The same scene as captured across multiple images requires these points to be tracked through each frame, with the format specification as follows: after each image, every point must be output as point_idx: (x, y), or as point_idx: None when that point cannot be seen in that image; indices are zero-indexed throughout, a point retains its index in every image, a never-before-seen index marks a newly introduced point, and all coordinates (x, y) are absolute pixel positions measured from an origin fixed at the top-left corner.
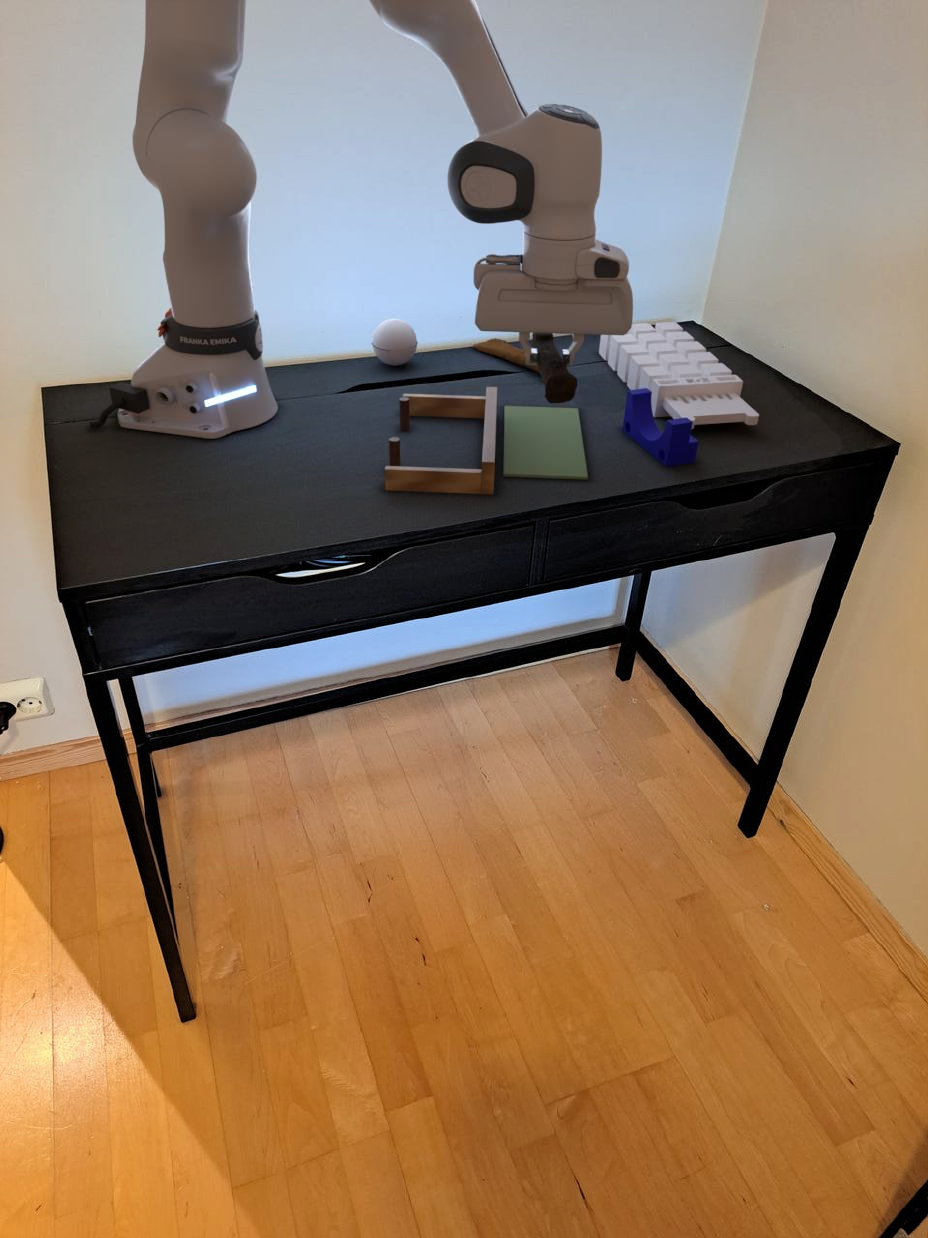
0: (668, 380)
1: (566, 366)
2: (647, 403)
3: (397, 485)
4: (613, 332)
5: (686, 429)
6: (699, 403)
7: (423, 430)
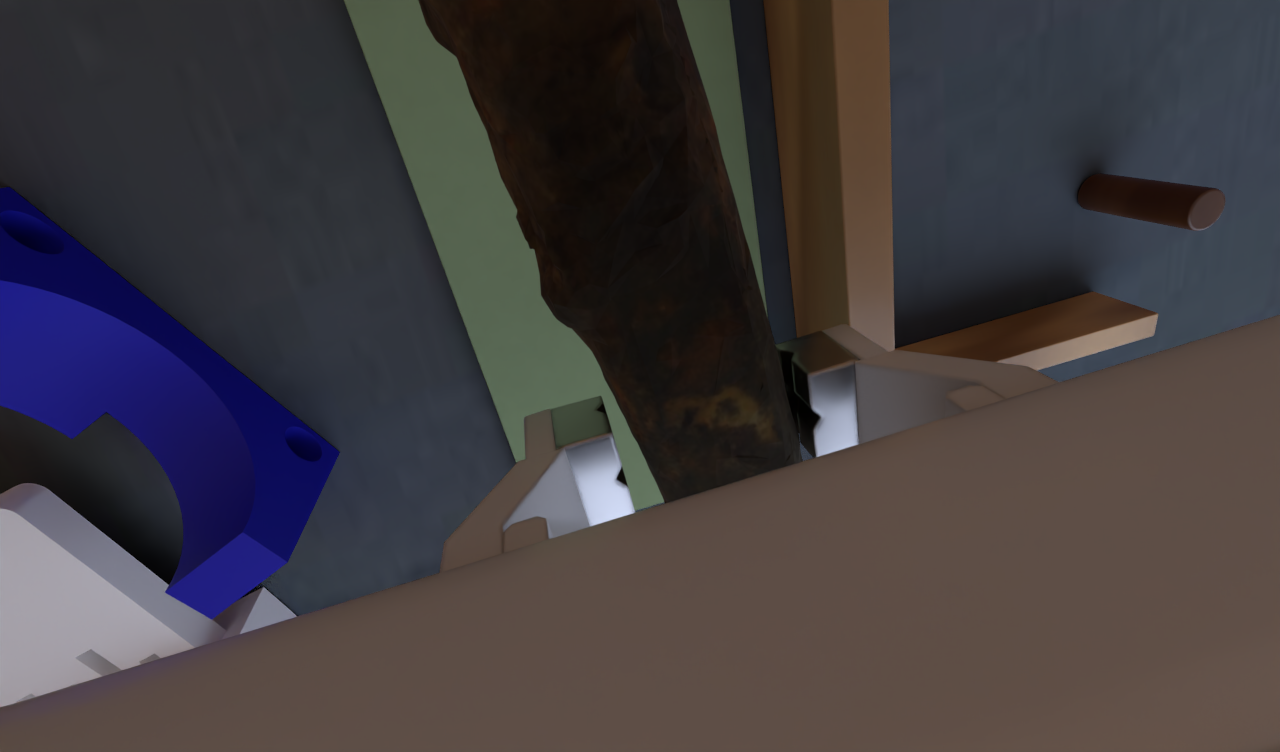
0: None
1: (541, 272)
2: (196, 538)
3: None
4: (31, 709)
5: None
6: (35, 670)
7: (1031, 200)
